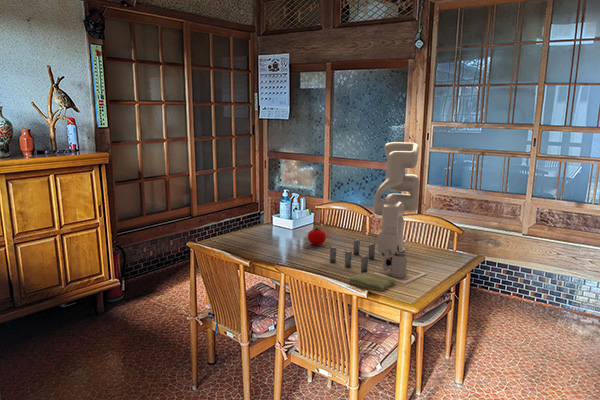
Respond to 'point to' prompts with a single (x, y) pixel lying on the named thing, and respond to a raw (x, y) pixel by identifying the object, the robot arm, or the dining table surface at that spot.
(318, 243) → the tomato
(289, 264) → the dining table surface
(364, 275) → the washcloth
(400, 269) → the mug
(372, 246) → the posts
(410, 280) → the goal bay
